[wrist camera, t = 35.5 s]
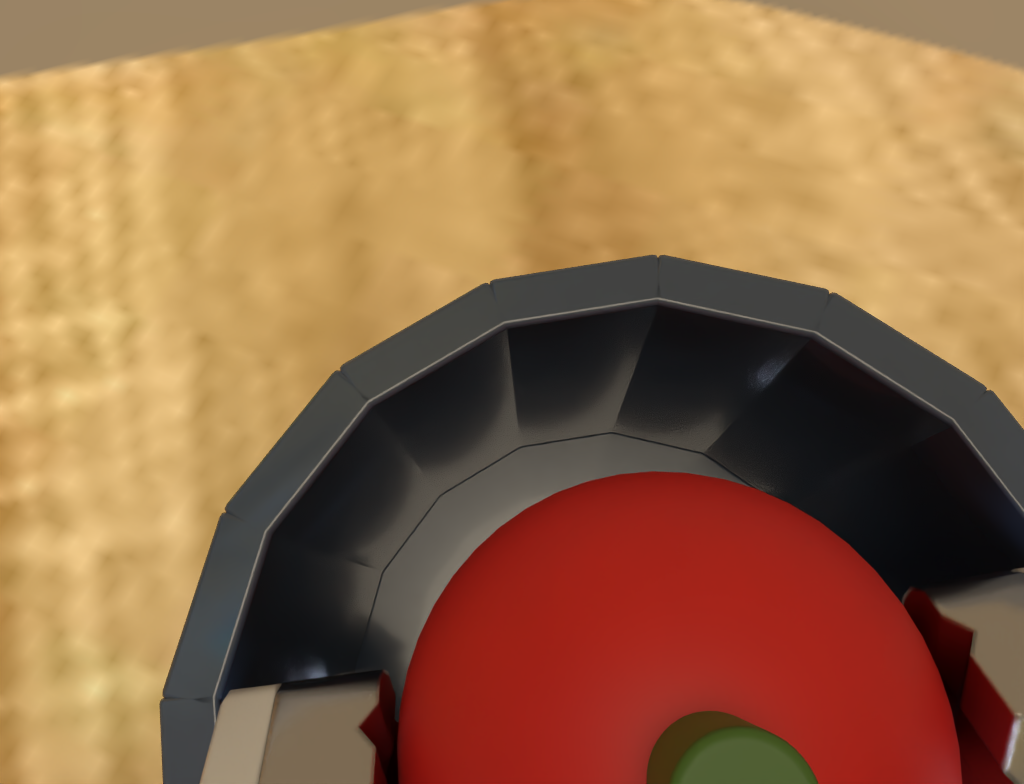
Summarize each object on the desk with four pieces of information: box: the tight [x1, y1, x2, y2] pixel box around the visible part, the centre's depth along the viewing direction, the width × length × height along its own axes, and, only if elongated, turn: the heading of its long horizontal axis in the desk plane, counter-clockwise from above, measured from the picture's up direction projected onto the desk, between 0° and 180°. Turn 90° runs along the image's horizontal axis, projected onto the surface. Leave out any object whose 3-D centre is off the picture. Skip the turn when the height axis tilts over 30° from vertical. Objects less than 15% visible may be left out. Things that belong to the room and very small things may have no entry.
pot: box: [160, 255, 1024, 784], centre depth 12 cm, size 10×10×7 cm
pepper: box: [397, 471, 962, 784], centre depth 9 cm, size 5×5×8 cm
